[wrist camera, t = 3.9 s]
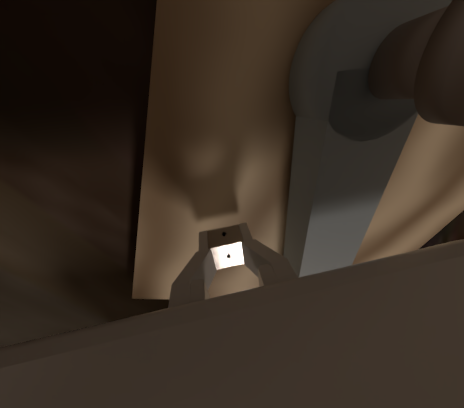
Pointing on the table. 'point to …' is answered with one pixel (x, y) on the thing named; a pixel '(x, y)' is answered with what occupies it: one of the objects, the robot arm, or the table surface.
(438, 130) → the pintle plate
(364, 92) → the link
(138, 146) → the table surface
